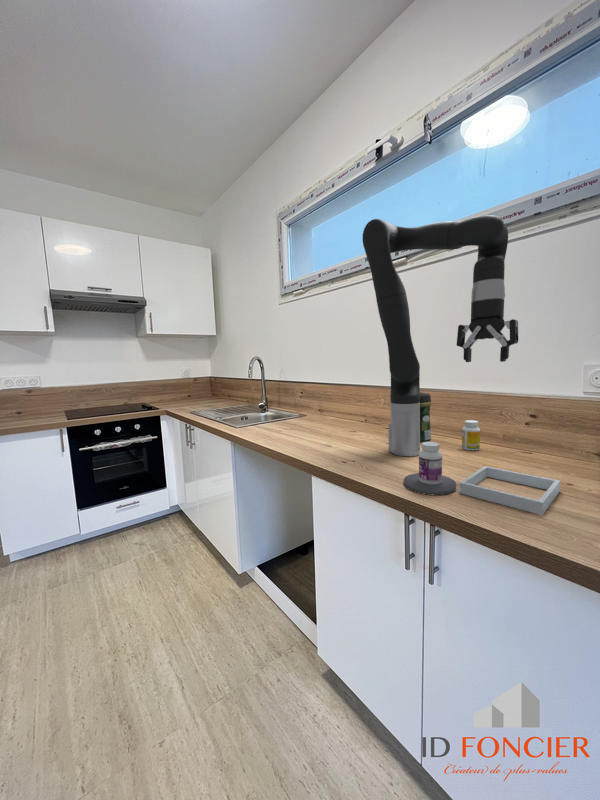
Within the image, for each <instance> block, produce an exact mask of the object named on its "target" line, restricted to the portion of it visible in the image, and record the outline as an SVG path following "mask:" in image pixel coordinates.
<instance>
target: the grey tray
mask: <svg viewBox="0 0 600 800" xmlns="http://www.w3.org/2000/svg"><path fill="white" fill-rule="evenodd" d="M486 478H492V479H497V480H500V481H505V482H510V483H514V484H519V485H524V486H527V487H528V486H529V487H533V488H538V489H542V490H546V491H545V492H544V493H543V495H542V496H541V497H540V499H534V498H530V497H527V496H521V495H518V494H513V493H510V492H505V491H502V490H496V489H493V488H490V487H489V488H488V487H485V486H482V485H478V484H479V483H481V482H482V481H483V480H484V479H486ZM560 492H561V480H559V479H554V478H548V477H542V476H538V475H534V474H527V473H522V472H518V471H517V472H516V471H512V470H508V469H502V468H497V467H493V466H486V465H484V466H483V467H481V468H480V469H478V470H477V471H475V472H474V473H472V474H471V475H469V476H467V477H466V478H465V479H463V480H462V481H460V482H459V494H462V495H466V496H469V497H474V498H477V499H480V500H485V501H488V502H492V503H496V504H500V505H503V506H507V507H511V508H514V509H518V510H521V511H526V512H530V513H533V514H537V515H540V516H543V515H544V514H545V512H546V511H547V509H548V508H549V507H550V505H551V504H552V503H553V501H554V500H555V499H556V498H557V496H558V494H559V493H560Z"/></svg>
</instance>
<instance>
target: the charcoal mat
mask: <svg viewBox="0 0 600 800" xmlns="http://www.w3.org/2000/svg"><path fill="white" fill-rule="evenodd" d="M403 485H404V487H405V488H406V489H408V488H409V489H408V490H410V489H411V490H410V491H412V490H413V492H414V491H416V492H415V493H417V492H420V493H419V494H421V493H425V494H424V495H427V494H434V495H433V496H442V495H441V494H446V495H450V494H453V493H454V492H456V490H457V483H456V481H455V480H454V479H453V478H451V477H449V476H446V475H443V474H442V482H441V483H440V484H437V485H429V484H424V483H422V482H421V481H420V480H419V472H417V473H411V474H408V475H406V476H404V478H403Z"/></svg>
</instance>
